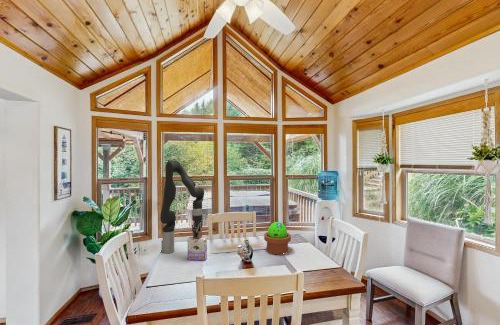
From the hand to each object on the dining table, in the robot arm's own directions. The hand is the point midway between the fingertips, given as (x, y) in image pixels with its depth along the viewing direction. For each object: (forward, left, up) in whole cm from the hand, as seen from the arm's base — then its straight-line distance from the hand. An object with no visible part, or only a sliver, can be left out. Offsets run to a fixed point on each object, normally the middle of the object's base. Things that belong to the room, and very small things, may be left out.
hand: (197, 235), depth 188 cm
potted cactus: (+57, +32, -18) cm, 68 cm away
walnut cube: (0, 0, -2) cm, 2 cm away
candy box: (0, 0, -18) cm, 18 cm away
